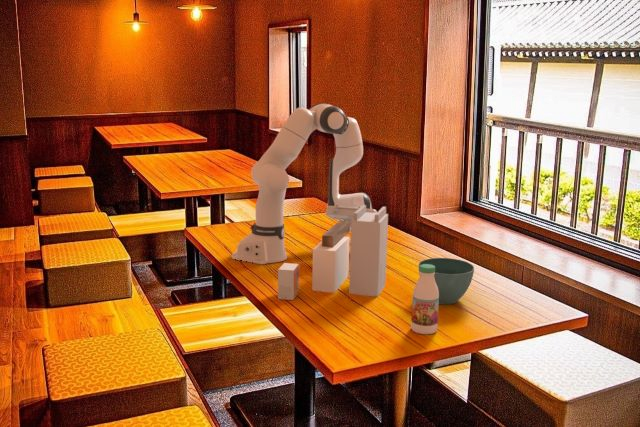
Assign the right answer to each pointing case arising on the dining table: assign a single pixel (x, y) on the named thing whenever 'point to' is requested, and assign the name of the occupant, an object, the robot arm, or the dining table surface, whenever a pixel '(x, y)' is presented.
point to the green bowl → (451, 278)
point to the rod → (335, 233)
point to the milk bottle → (425, 302)
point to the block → (330, 266)
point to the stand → (368, 252)
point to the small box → (288, 281)
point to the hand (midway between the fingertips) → (347, 207)
